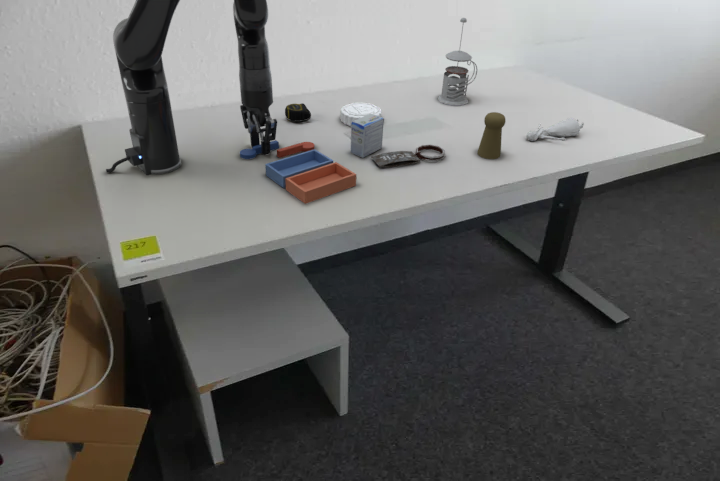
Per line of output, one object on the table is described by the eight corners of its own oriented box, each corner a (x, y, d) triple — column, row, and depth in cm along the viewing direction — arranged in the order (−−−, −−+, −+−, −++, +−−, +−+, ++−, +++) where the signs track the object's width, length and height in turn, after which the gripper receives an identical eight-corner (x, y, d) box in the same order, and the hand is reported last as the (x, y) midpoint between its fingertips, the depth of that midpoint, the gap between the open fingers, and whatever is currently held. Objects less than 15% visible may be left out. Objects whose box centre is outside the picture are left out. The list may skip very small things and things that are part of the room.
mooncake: (388, 125, 158) (388, 113, 156) (348, 130, 154) (349, 118, 152) (371, 110, 167) (372, 99, 165) (334, 114, 163) (334, 103, 161)
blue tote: (283, 188, 126) (282, 176, 124) (265, 175, 131) (265, 163, 129) (333, 171, 133) (333, 160, 132) (315, 160, 138) (314, 149, 137)
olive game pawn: (483, 160, 141) (490, 119, 135) (473, 150, 146) (479, 110, 140) (504, 158, 143) (512, 117, 136) (494, 148, 147) (501, 108, 141)
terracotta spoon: (308, 144, 146) (308, 137, 145) (317, 149, 143) (317, 143, 142) (274, 154, 140) (273, 147, 139) (282, 160, 138) (282, 153, 137)
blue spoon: (245, 160, 137) (244, 154, 136) (237, 154, 139) (236, 148, 138) (281, 150, 142) (281, 143, 141) (273, 144, 145) (273, 138, 144)
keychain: (369, 157, 141) (369, 150, 139) (436, 148, 146) (437, 141, 145) (380, 170, 135) (381, 163, 133) (450, 160, 140) (451, 153, 139)
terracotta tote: (305, 204, 120) (305, 192, 119) (285, 190, 125) (285, 178, 123) (356, 185, 128) (356, 174, 126) (336, 173, 133) (336, 161, 131)
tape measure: (311, 122, 158) (311, 110, 156) (287, 124, 156) (287, 112, 154) (306, 114, 163) (305, 101, 161) (283, 115, 161) (282, 103, 159)
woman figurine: (596, 124, 151) (542, 137, 146) (592, 139, 154) (539, 152, 149) (567, 109, 160) (515, 121, 155) (564, 124, 163) (513, 136, 157)
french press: (432, 95, 180) (441, 14, 166) (464, 93, 183) (476, 13, 169) (445, 106, 172) (455, 22, 158) (478, 103, 175) (492, 20, 161)
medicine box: (369, 143, 147) (370, 112, 142) (382, 148, 145) (384, 117, 140) (350, 153, 142) (350, 121, 137) (363, 158, 140) (364, 126, 135)
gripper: (227, 79, 134) (233, 144, 143) (257, 96, 125) (262, 164, 134) (254, 73, 138) (259, 137, 147) (285, 90, 129) (288, 156, 138)
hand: (260, 150), depth 141 cm, fingers open, 4 cm apart
